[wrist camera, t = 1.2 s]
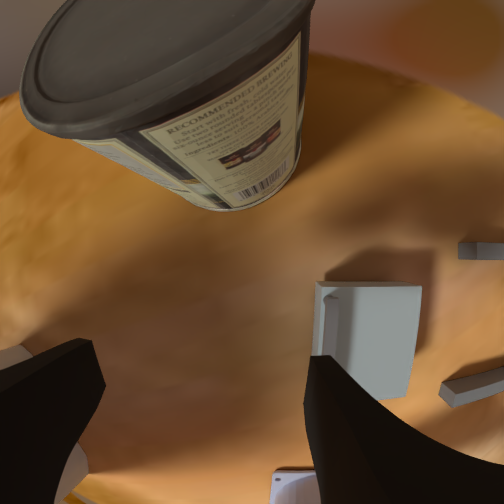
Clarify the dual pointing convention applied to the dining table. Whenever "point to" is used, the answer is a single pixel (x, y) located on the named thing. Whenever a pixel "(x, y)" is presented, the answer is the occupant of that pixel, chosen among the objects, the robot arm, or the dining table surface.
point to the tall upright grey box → (77, 460)
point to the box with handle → (369, 331)
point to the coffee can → (178, 91)
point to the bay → (487, 381)
